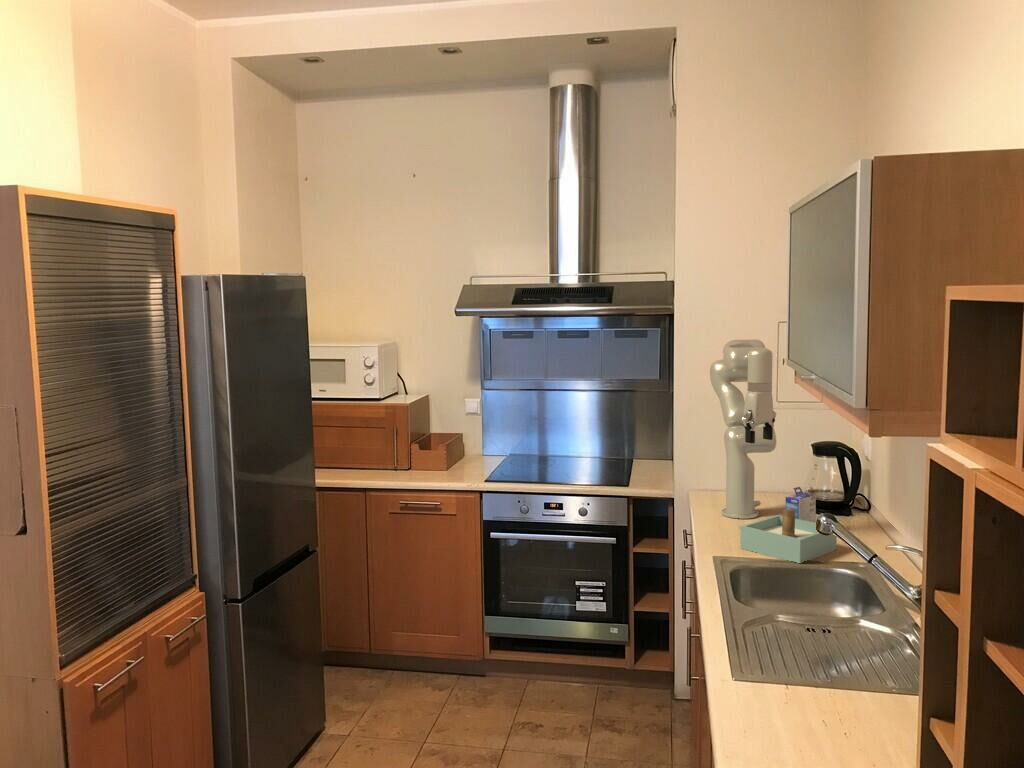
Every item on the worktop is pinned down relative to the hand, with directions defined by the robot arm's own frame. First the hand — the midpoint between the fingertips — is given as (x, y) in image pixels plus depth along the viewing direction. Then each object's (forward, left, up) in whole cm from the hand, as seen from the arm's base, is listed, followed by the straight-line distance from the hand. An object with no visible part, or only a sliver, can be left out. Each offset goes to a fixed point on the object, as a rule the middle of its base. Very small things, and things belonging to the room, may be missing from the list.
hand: (758, 441), depth 265 cm
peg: (+8, +16, -30) cm, 35 cm away
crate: (+8, +16, -30) cm, 35 cm away
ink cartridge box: (-12, +8, -31) cm, 34 cm away
